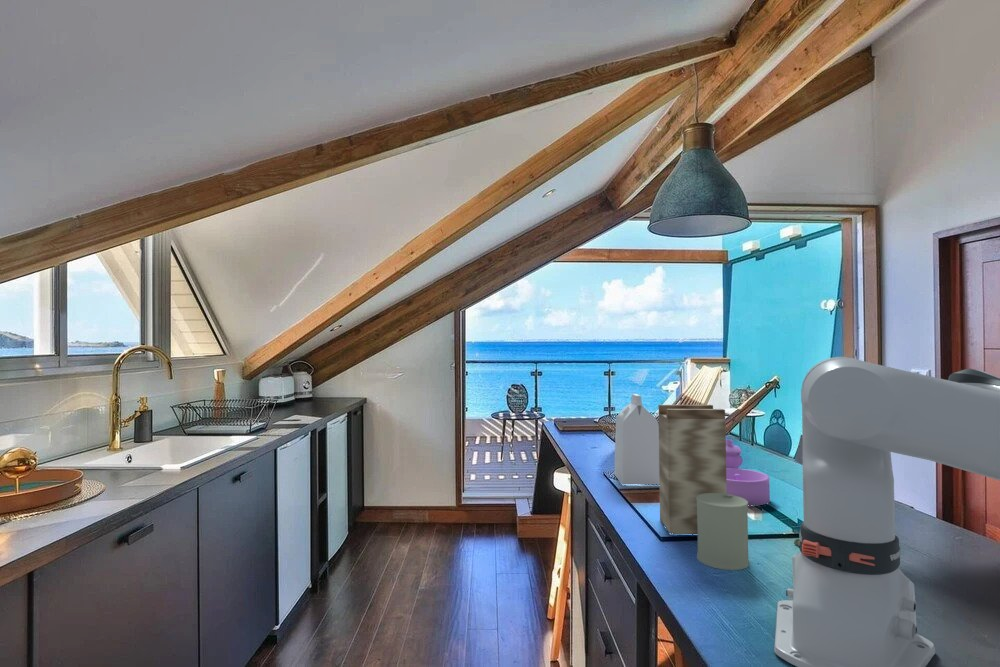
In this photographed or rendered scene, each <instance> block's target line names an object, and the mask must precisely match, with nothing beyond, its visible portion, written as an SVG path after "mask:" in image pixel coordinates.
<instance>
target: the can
mask: <svg viewBox="0 0 1000 667" xmlns="http://www.w3.org/2000/svg"><path fill="white" fill-rule="evenodd" d="M696 499H697V526H698V536H697V554H696V559H697V560H698V561H699V562H700V563H702V564H703V565H705V566H708V567H710V568H713V569H719V570H723V571H725V570H726V571H740V570H744V569H747V568H748V567H749V566H750V564H751V563H750V558H749V532H748V531H749V529H748V527H749V525H748V522H749V520H748V519H749V517H748V514H749V513H748V508H749V507H748V501H747V500H745V499H744V498H741V497H738V496H735V495H730V494H723V493H705V494H700V495H698V496H697V497H696Z"/></svg>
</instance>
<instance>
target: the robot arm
mask: <svg viewBox="0 0 1000 667" xmlns="http://www.w3.org/2000/svg"><path fill="white" fill-rule="evenodd" d="M800 390H801V391H800V401H801V402H800V403H801V416H802V418H801V419H802V420H801V422H802V423H801V424H802V426H801V427H802V429H801V430H802V431H801V432H802V434H801V435H802V441H803V464H802V501H803V502H802V503H803V506H802V507H803V508H802V509H803V512H802V513H803V521H802V522H800V523H801V524H800V530H799V533H798V534H799V538H798V539H800V546H799V552H798V553H796V554H795V555H792V559H791V560H792V588H787V589H786V590H785V594H786V595H785V596H786V598H787V600H785V599H784V600H779V601H777V604H776V605H777V606H776V617H775V618H776V619H775V632H774V633H775V634H774V635H775V637H774V654H775V655H777V656H778V657H779V658H780V659H782V660H784V661H786V662H787V663H789V664H791V665H793V666H795V667H927V666H928V664H929V662H931V660H932V658H933V657H934V655H936V649H935V644H934V643H933V642H932V641H931V640H930V639H928V638H926V637H925V636H922V635H920V634H918V629H917V628H918V627H917V614H916V610H917V604H916V594H915V593H916V592H915V584H914V583H913V582H912V580H910V579H909V578H908V577H907V576H906V575H905V574H904V573H903V572H902V570H901V569H900V566H901V565H900V564H901V554H902V551H901V550H902V549H901V546H900V539H899V537H898V536H897V534H896V519H895V518H896V517H895V516H896V514H895V512H896V511H895V479H894V472H893V464H892V463H893V462H892V454H891V453H894V454H898V455H903V456H908V457H912V458H917V459H923V460H925V461H926V460H927V461H930V462H935V463H937V464H941V465H945V466H949V467H951V468H956V469H959V470H963V471H966V472H969V473H972V474H975V475H980V476H983V477H986V478H990V479H993V480H996V481H1000V377H999V376H997V375H994V374H993V373H992V374H991V373H989V372H987V371H984V370H980V369H975V368H967V369H965V368H964V369H961V370H958V371H955V372H952V373H950V374H949V376H948V379H943V378H939V377H934V376H929V375H926V374H920V373H916V372H911V371H907V370H905V369H904V370H903V369H898V368H894V367H890V366H887V365H886V366H885V365H881V364H877V363H872V362H868V361H864V360H861V359H857V358H855V357H849V356H835V357H829V358H827V359H823V360H822V361H820V362H817V363H816V364H814V365H813V366H812V367H811V368H810V369H809V370H808V372H807V373H806V374H805V376H804V378H803V381H802V385H801V389H800ZM788 599H789V600H788Z"/></svg>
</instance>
